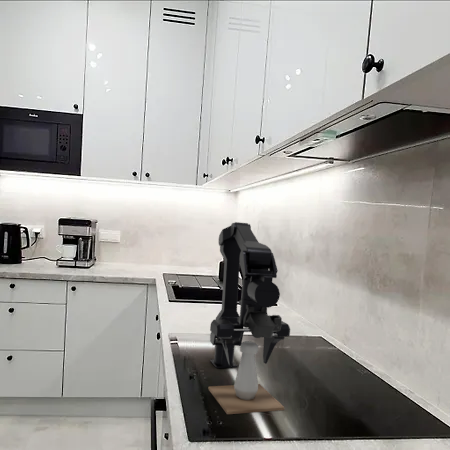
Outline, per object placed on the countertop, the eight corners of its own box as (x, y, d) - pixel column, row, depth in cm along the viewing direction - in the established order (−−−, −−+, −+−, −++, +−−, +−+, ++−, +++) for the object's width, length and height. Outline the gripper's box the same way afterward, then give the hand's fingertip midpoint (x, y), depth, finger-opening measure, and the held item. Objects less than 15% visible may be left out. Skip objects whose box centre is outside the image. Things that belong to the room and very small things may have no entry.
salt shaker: (255, 392, 103) (260, 340, 103) (258, 402, 98) (263, 346, 98) (232, 390, 103) (236, 338, 103) (234, 400, 97) (238, 345, 97)
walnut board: (208, 388, 105) (208, 386, 105) (259, 386, 109) (259, 383, 109) (227, 414, 91) (227, 411, 91) (284, 409, 96) (284, 407, 96)
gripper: (228, 305, 90) (221, 377, 90) (304, 306, 96) (298, 374, 96) (212, 295, 100) (206, 360, 100) (281, 297, 106) (276, 358, 106)
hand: (247, 363), depth 100 cm, fingers open, 9 cm apart
